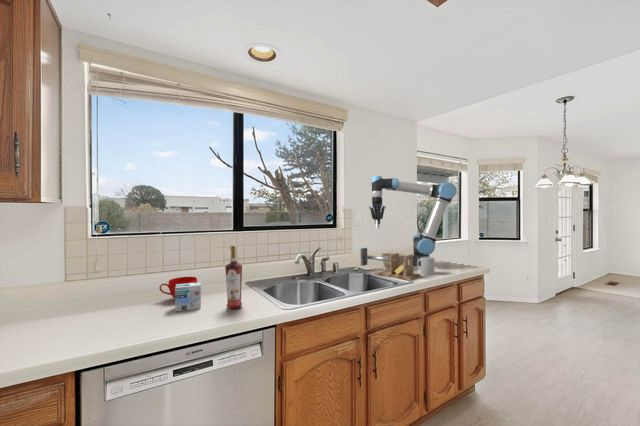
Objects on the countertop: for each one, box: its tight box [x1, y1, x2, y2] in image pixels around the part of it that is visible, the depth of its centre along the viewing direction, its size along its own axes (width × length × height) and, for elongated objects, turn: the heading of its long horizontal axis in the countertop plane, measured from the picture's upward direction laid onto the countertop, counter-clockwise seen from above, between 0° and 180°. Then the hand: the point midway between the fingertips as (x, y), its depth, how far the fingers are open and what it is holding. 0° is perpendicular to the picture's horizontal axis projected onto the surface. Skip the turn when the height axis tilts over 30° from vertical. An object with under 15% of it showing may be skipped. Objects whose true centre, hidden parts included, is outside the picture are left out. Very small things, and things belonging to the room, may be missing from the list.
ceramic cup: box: [159, 276, 198, 300], centre depth 148 cm, size 13×17×10 cm
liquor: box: [225, 244, 243, 310], centre depth 135 cm, size 7×7×28 cm
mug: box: [416, 256, 435, 276], centre depth 201 cm, size 12×8×11 cm
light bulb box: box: [174, 281, 202, 313], centre depth 135 cm, size 11×7×11 cm, turn 113°
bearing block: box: [373, 252, 422, 281], centre depth 195 cm, size 26×14×14 cm, turn 47°
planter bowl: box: [381, 252, 406, 270], centre depth 215 cm, size 16×16×11 cm
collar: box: [395, 264, 404, 275], centre depth 193 cm, size 3×7×7 cm
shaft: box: [360, 247, 396, 267], centre depth 205 cm, size 25×6×12 cm, turn 47°
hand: (377, 228), depth 222 cm, fingers closed
